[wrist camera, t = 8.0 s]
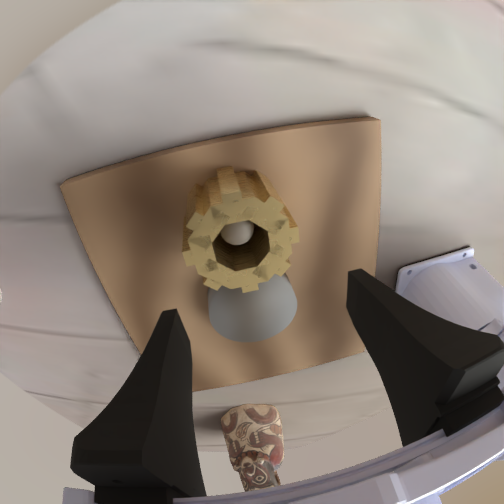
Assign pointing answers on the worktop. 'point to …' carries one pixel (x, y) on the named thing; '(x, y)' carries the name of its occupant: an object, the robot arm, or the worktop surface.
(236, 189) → the brass gear
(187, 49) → the worktop surface
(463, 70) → the worktop surface
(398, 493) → the robot arm
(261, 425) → the figurine
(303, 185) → the carrier plate
